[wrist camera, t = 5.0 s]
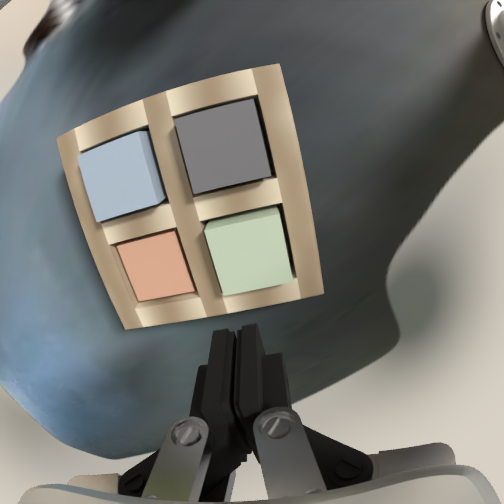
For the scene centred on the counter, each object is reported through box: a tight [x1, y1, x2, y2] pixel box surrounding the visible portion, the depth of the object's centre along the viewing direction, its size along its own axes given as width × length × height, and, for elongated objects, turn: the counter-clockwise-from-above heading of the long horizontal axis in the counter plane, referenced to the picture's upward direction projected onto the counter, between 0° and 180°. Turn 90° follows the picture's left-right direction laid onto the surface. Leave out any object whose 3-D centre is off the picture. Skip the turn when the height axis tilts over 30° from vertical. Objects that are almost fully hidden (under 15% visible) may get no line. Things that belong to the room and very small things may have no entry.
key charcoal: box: [174, 99, 271, 194], centre depth 19 cm, size 5×5×3 cm
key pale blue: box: [77, 131, 167, 222], centre depth 20 cm, size 5×5×3 cm
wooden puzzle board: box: [56, 64, 324, 329], centre depth 23 cm, size 17×17×5 cm
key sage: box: [204, 204, 293, 296], centre depth 22 cm, size 5×5×3 cm
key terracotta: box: [117, 227, 196, 301], centre depth 24 cm, size 5×5×3 cm
